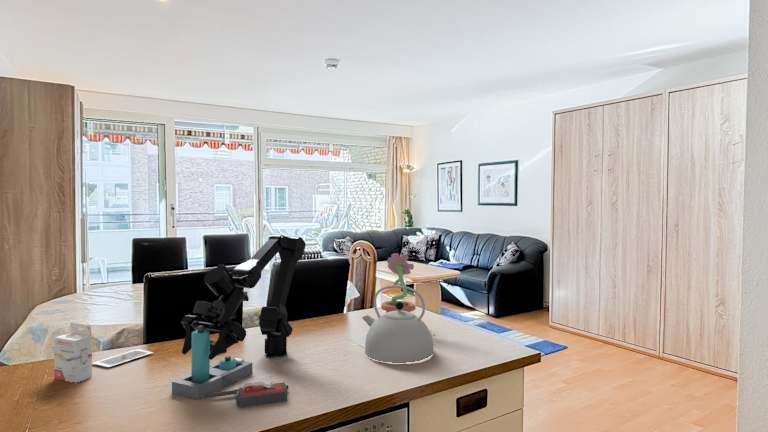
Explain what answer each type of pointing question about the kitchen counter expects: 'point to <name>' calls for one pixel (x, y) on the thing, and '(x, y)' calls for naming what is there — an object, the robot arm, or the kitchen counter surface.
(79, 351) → the ink cartridge box
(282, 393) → the walkie-talkie
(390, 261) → the decorative flower
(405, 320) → the kettle
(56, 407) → the kitchen counter surface
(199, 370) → the plug
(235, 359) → the grey holder base
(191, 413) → the kitchen counter surface
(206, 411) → the kitchen counter surface
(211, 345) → the electric trimmer
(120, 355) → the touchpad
